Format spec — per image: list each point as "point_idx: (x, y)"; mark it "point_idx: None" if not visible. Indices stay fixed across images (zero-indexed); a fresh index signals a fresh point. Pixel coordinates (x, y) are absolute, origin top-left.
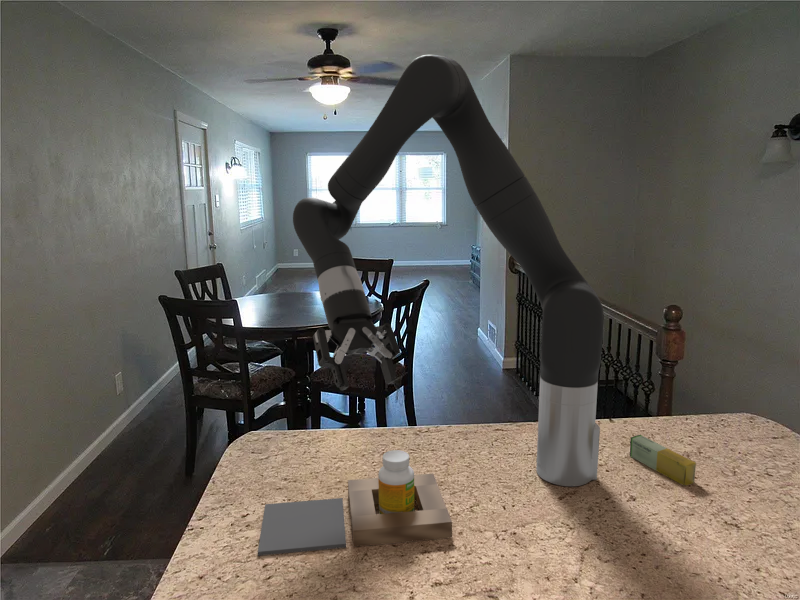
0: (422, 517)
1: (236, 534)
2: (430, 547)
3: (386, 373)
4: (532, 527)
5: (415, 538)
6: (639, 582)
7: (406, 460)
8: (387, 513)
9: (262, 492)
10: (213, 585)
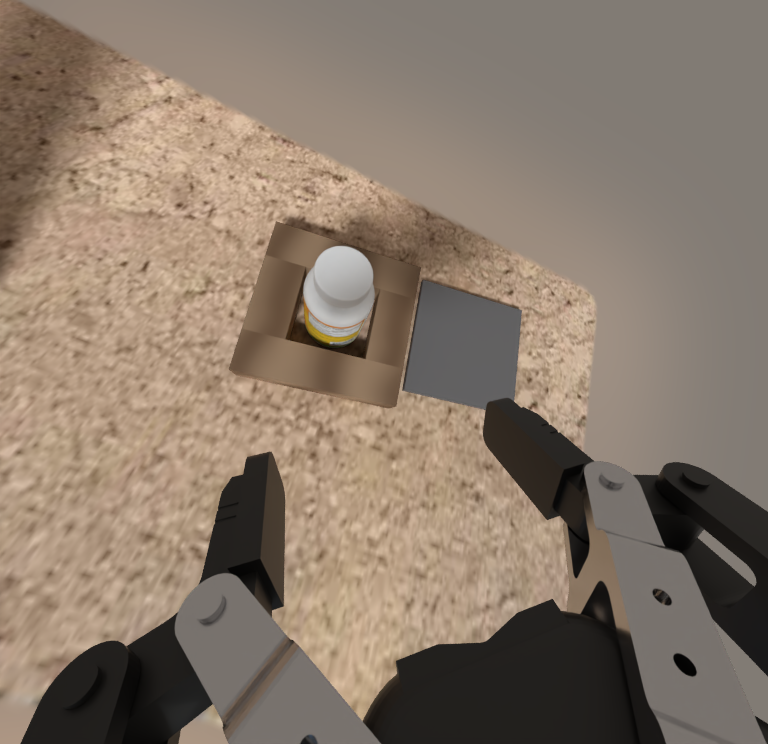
0: (315, 250)
1: (541, 365)
2: None
3: (275, 510)
4: (138, 202)
5: None
6: (85, 53)
7: (328, 248)
8: None
9: None
10: (556, 284)
